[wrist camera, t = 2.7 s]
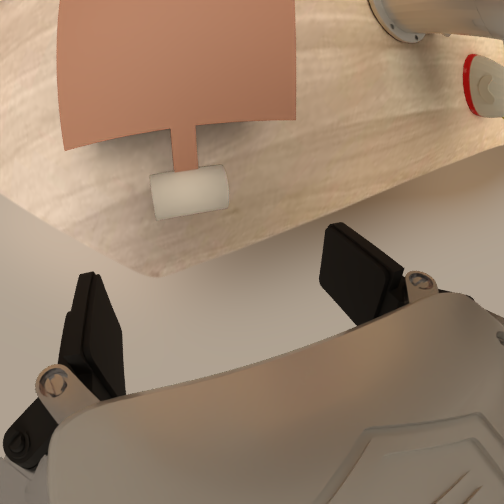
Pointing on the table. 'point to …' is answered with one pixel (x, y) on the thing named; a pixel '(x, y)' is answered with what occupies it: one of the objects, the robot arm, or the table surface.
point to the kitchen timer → (484, 86)
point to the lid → (174, 80)
